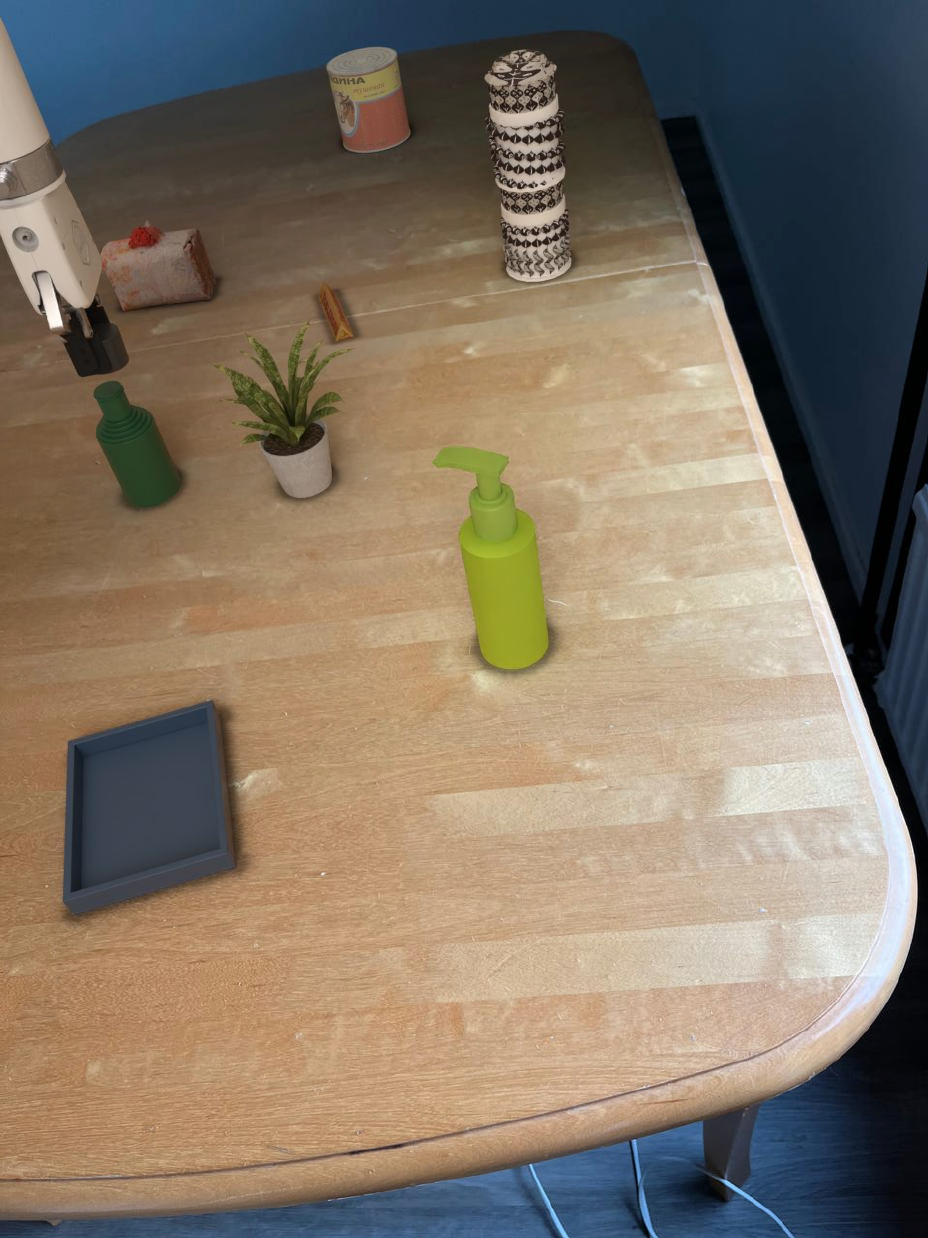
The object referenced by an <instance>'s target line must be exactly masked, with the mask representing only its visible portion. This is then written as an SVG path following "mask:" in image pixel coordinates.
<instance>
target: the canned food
mask: <svg viewBox="0 0 928 1238" xmlns="http://www.w3.org/2000/svg"><path fill="white" fill-rule="evenodd" d="M325 69H326V71H327V75H328V80H329V84H330V88H331V92H332V93H331V94H332V97H333V103H334V106H335V111H336V115H337V120H338V124H339V128H340V133H341V137H342V145H343V147H344V149H345V150H347V151H349V152H352V153H357V154H370V153H377V152H384V151H386V150H389V149H393V148H395V147H397V146H399V145H401V144H403V143H404V142H406V141H407V140H408V139H409V137H410V136H411V134H412V133H411V129H410V124H409V119H408V113H407V107H406V101H405V96H404V89H403V85H402V79H401V74H400V73H401V72H400V67H399V61H398V52H397V51H396V50H395V49H393V48H390V47H385V46H370V47H369V46H368V47H362V48H357V49H352V50H349V51H346V52H344V53H341V54H338V55H337V56H334V57H333V58H331V59H330V60H329V61H328V62H327V63H326V66H325Z"/></svg>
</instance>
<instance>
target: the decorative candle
mask: <svg viewBox="0 0 928 1238" xmlns="http://www.w3.org/2000/svg"><path fill="white" fill-rule="evenodd" d="M548 59H549V58H547V56H546V55H545V54H544V53H543V52H542V51H538V50H535V49H517V50H513V51H509V52H506V53H503V54H502V55H500V56H498V57H497V58H496V59H495V60H494V62H493V64H492V67H491V69H490V70H488V71H487V72H486V73H485V75H484V81H485V82H486V83H487V84H488V94H489V99H490V100H489V105H488V109H489V112H488V113H487V116H486V118H485V120H484V121H485V124H486V125H485V128H486V131H488V132H489V134H490V135H489V136H488V138H487V140H488V143H489V147H490V151H489V152H490V154H491V155H490V159H491V161H493V162H494V165H493V170H492V171H493V172H494V177H495V181H494V182H495V184H496V186H497V187H498V188H500V197H501V203H500V211H501V217H500V226H501V227H502V229H501V238H502V239H503V244H502V246H503V247H502V250H503V253H504V263H505V265H506V269H505V271H506V273H507V274H508V276H509V277H511V278H513V279H514V280H517V281H521V282H527V283H534V282H535V283H536V282H537V283H538V282H544V281H548V280H552V279H555V278H557V277H559V276H561V275H563V274H565V273H566V272H567V271H568V270H569V269H570V268H571V265H572V258H571V256H572V252H571V250H572V247H571V246H570V245H571V240H570V239H571V235H570V234H569V233H568V232H569V231H570V222H569V221H568V219H569V209H568V208H567V207H566V196H565V194H564V191H563V188H564V186H563V179H564V178H565V175H566V168H565V166H564V165H565V164H566V163H567V160H566V156H565V155H564V154H563V153H564V151H565V150H566V144H565V142H564V141H563V140H561V139H559V138H561V137H562V135H563V134H565V132H566V127H565V124H564V123H562V122H563V120H564V119H565V116H566V113H565V112H564V111H563V109H562V108H559V107H560V106H559V95H558V94H557V91H556V76H555V73H556V71H557V65H556V64H555V63H554V62H553V61H551V60H548Z"/></svg>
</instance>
